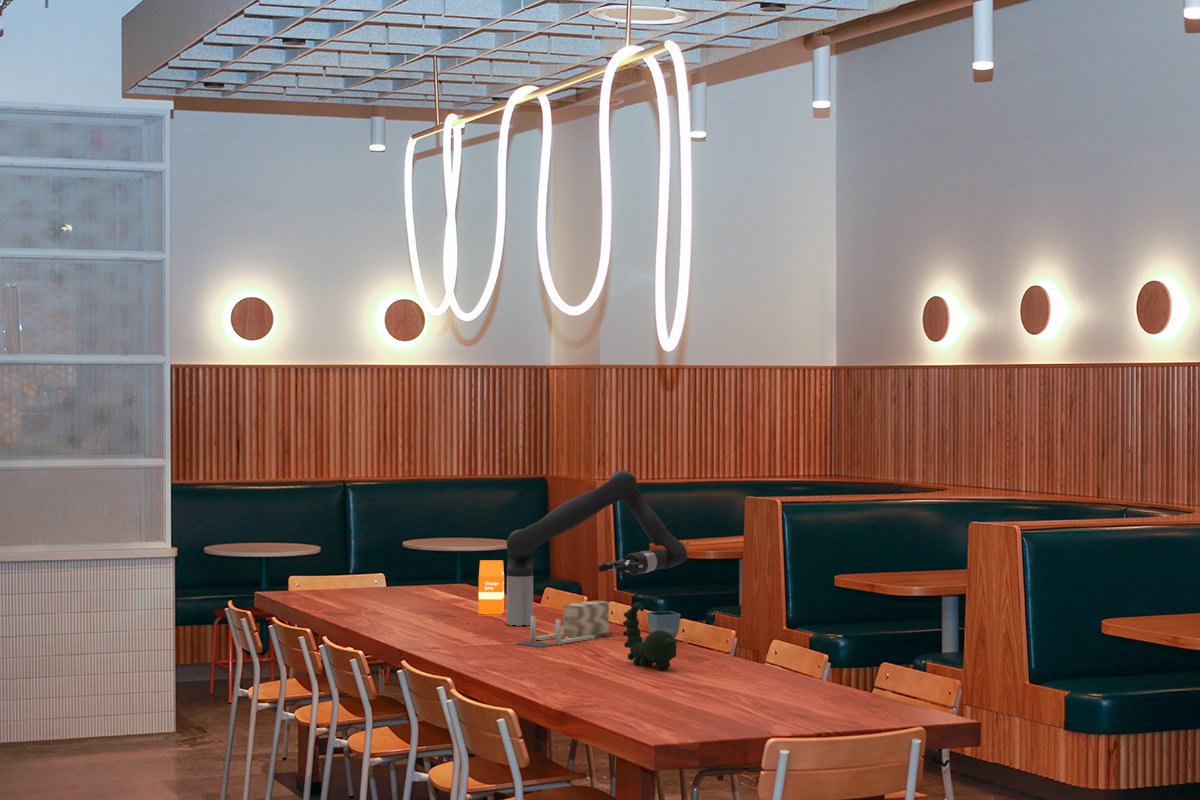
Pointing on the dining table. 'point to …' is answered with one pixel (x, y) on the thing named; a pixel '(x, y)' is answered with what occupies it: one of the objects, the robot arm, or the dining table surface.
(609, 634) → the lane
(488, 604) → the orange juice
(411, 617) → the dining table surface
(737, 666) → the dining table surface
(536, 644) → the pit mat
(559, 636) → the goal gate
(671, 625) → the flower pot
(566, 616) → the beech block
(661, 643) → the toy figurine
